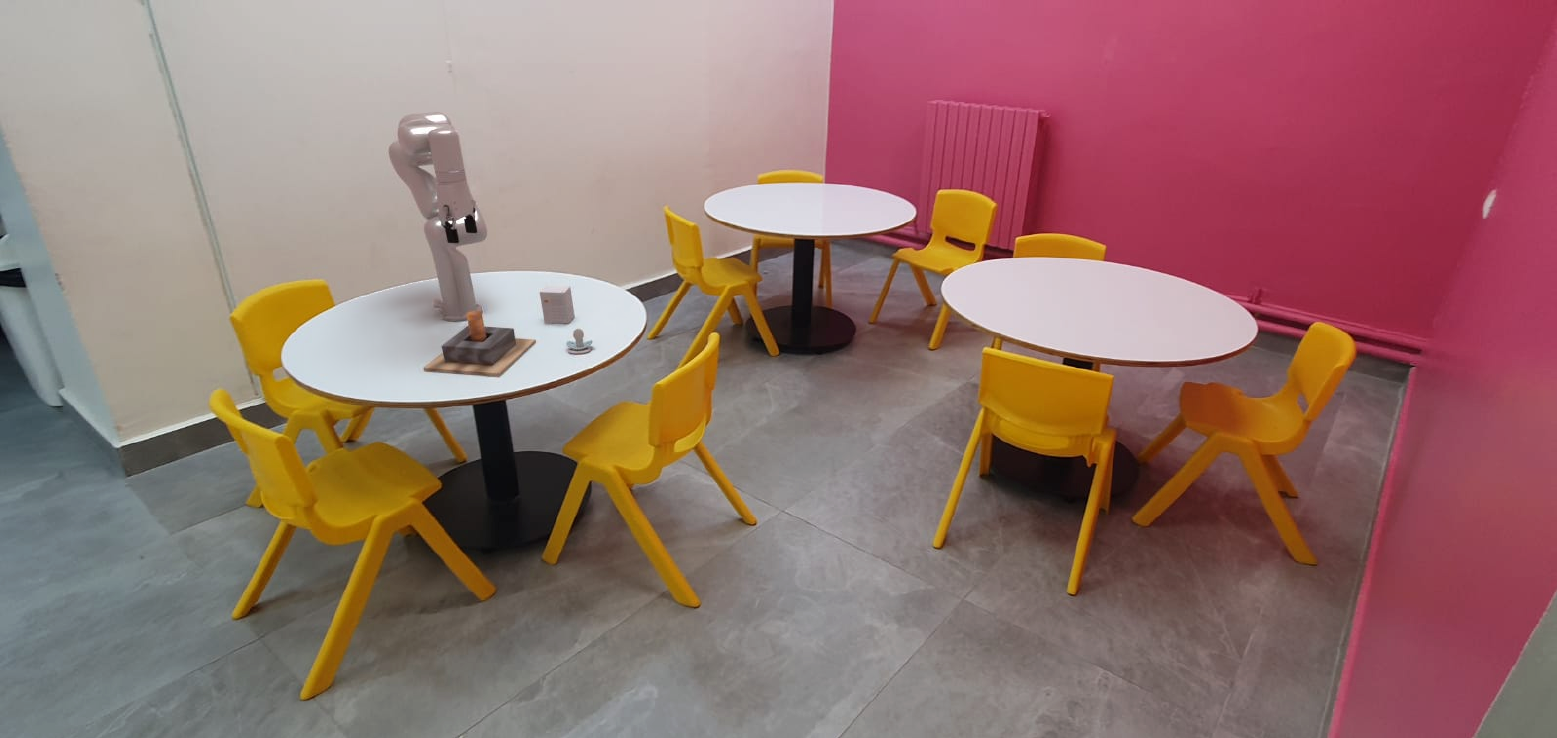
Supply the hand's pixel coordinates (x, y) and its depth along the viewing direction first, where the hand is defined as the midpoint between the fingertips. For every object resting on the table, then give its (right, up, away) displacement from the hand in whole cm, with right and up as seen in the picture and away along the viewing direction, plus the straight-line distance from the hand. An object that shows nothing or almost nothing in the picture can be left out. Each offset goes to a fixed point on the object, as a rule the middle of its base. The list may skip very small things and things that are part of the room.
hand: (463, 237), depth 208 cm
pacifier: (+32, -32, +5) cm, 45 cm away
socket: (+5, -33, +1) cm, 34 cm away
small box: (+20, -22, +25) cm, 39 cm away
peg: (+5, -32, +1) cm, 33 cm away
